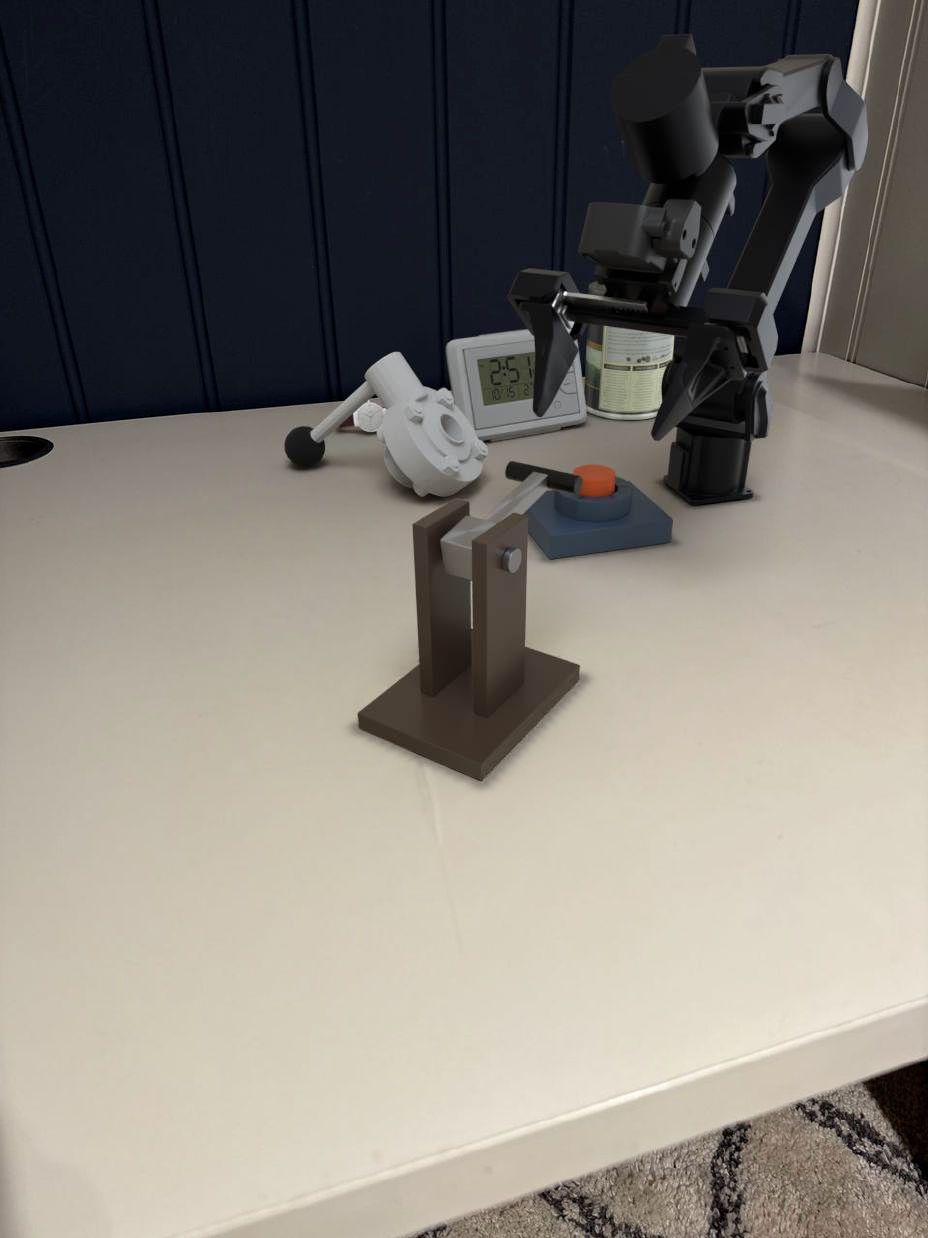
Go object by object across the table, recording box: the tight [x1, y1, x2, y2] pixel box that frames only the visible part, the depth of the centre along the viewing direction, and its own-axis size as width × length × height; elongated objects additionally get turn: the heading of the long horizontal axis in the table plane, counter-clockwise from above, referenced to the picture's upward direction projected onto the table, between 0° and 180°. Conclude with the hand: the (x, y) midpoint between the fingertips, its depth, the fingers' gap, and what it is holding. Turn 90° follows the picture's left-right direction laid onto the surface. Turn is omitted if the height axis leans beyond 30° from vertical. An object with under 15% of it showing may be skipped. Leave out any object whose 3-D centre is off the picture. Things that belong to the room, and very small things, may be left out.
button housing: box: [522, 476, 674, 560], centre depth 78 cm, size 11×9×4 cm
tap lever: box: [440, 460, 583, 582], centre depth 54 cm, size 10×5×2 cm, turn 146°
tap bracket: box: [357, 497, 581, 781], centre depth 54 cm, size 12×9×13 cm
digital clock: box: [445, 328, 588, 443], centre depth 100 cm, size 16×9×11 cm, turn 103°
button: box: [572, 464, 617, 497], centre depth 77 cm, size 4×4×2 cm
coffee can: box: [583, 280, 676, 421], centre depth 105 cm, size 10×10×14 cm
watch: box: [337, 399, 386, 433], centre depth 103 cm, size 8×5×4 cm, turn 104°
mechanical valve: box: [283, 351, 489, 498], centre depth 89 cm, size 10×18×15 cm
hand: (593, 425), depth 62 cm, fingers open, 9 cm apart
